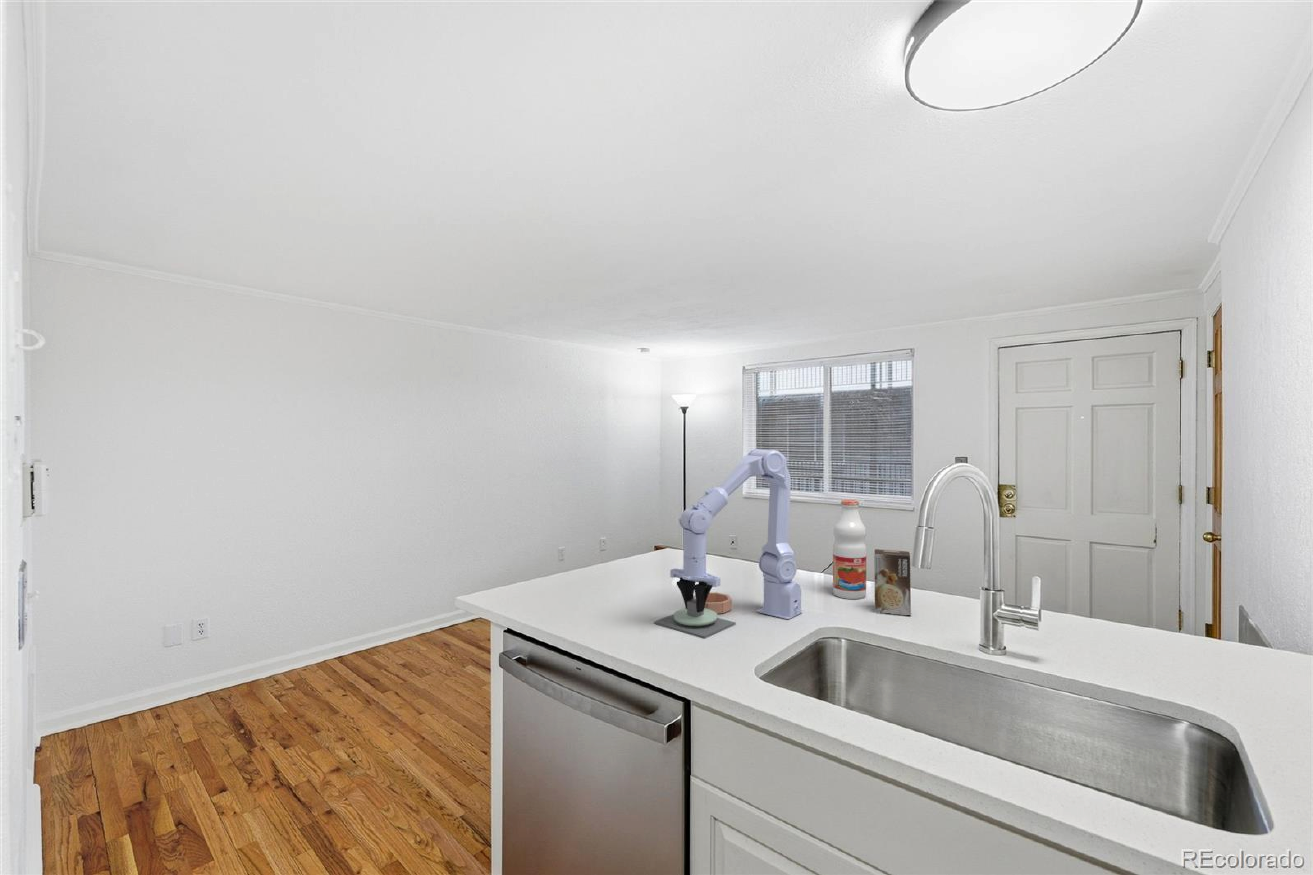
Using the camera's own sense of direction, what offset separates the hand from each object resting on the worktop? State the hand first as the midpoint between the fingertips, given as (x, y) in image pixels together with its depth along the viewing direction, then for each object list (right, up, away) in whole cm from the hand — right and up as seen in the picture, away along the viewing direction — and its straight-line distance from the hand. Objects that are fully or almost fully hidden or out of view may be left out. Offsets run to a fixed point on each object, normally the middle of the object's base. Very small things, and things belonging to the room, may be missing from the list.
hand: (694, 609), depth 149 cm
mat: (0, -4, 0) cm, 4 cm away
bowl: (+6, -3, +12) cm, 14 cm away
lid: (0, -2, 0) cm, 2 cm away
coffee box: (+54, -4, +10) cm, 55 cm away
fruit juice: (+47, -3, +25) cm, 54 cm away
